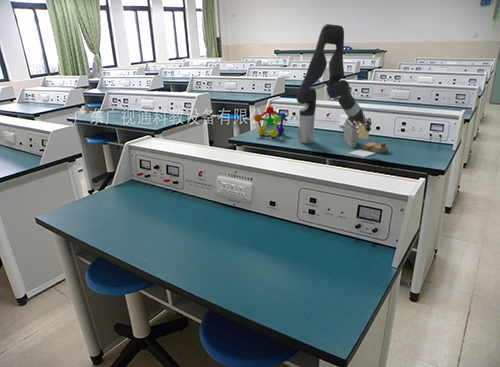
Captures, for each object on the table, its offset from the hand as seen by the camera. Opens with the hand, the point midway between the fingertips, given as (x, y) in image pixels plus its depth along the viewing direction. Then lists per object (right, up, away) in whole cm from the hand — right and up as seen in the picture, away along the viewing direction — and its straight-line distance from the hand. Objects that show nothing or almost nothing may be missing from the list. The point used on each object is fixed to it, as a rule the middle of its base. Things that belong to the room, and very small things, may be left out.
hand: (366, 129), depth 196 cm
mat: (-1, -13, +4) cm, 14 cm away
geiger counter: (-2, -4, +28) cm, 29 cm away
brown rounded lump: (+8, -11, +9) cm, 16 cm away
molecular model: (-48, +4, +53) cm, 72 cm away
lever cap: (-1, -5, +1) cm, 5 cm away
